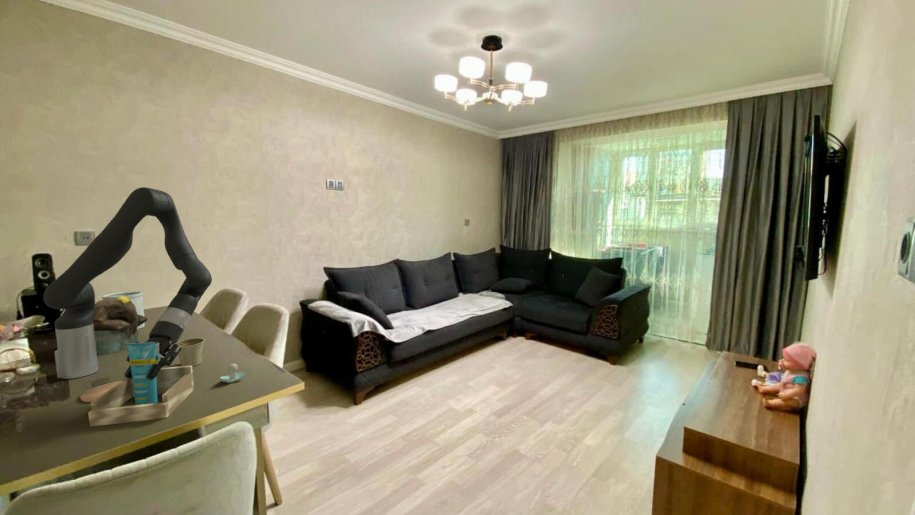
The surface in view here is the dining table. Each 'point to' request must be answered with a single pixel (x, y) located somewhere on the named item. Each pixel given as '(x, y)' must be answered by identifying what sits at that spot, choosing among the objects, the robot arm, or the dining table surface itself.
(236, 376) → the pacifier
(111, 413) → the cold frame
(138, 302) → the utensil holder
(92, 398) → the saucer
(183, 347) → the flower pot
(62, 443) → the dining table surface
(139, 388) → the tube
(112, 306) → the brown and grey lump
